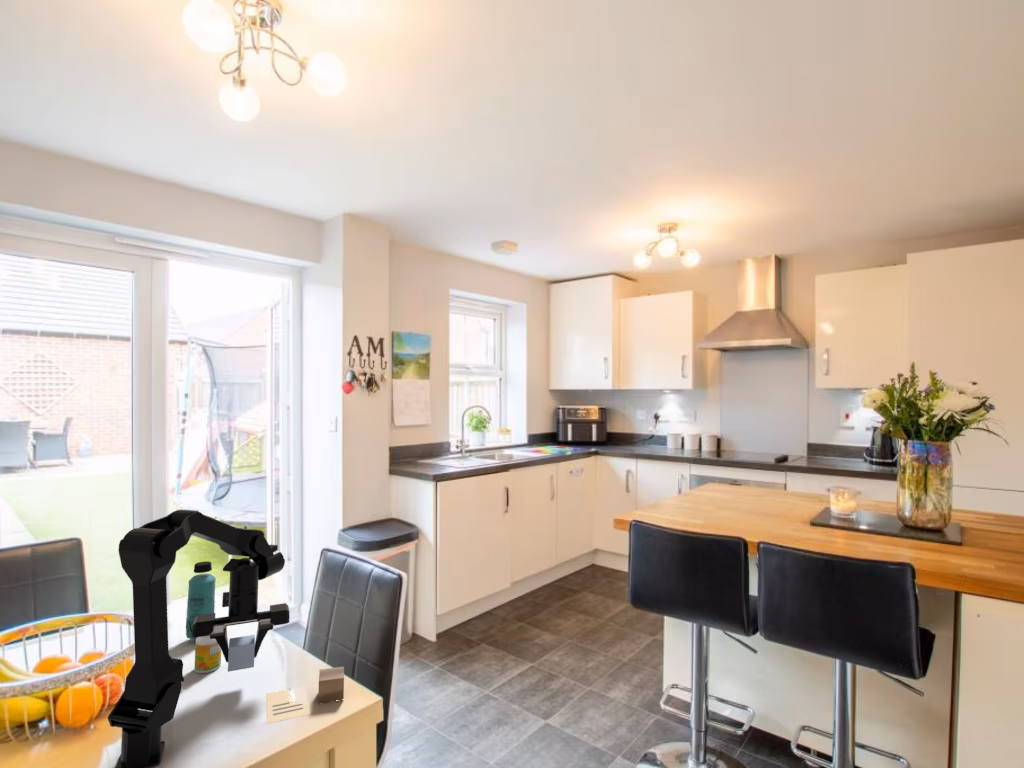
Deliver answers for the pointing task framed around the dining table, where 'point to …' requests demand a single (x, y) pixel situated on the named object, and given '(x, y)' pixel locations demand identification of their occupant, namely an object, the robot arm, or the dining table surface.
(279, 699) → the letter
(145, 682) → the robot arm
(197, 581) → the beverage bottle
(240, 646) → the cube
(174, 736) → the dining table surface
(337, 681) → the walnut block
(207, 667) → the supplement bottle
